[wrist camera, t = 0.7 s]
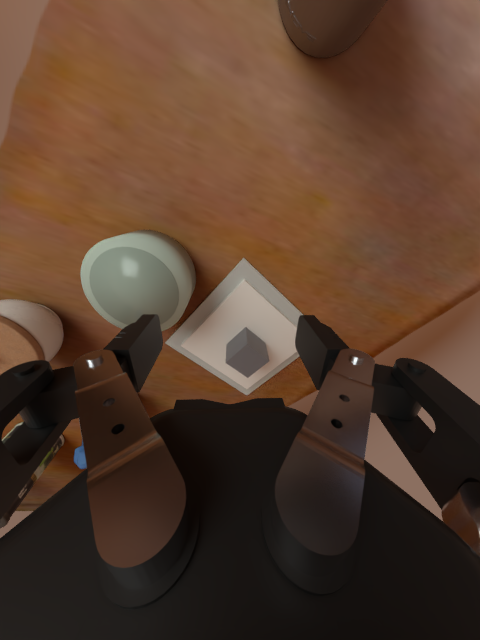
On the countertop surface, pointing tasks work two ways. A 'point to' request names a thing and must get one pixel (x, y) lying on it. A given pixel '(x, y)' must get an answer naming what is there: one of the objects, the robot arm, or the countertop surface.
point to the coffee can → (33, 478)
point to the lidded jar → (27, 333)
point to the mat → (216, 297)
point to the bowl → (138, 278)
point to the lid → (244, 336)
